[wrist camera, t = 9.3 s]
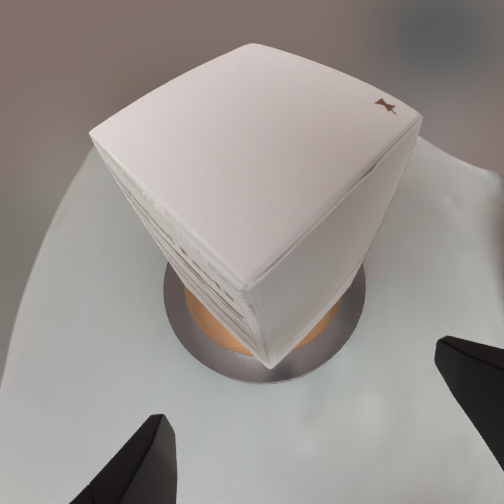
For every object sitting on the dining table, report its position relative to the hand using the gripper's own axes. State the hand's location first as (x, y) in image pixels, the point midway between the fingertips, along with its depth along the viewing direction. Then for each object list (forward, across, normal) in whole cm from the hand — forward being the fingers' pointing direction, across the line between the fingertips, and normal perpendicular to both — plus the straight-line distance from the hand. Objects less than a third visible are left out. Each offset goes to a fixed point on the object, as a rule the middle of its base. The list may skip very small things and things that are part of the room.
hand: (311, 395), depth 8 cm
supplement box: (+10, 0, +1) cm, 11 cm away
